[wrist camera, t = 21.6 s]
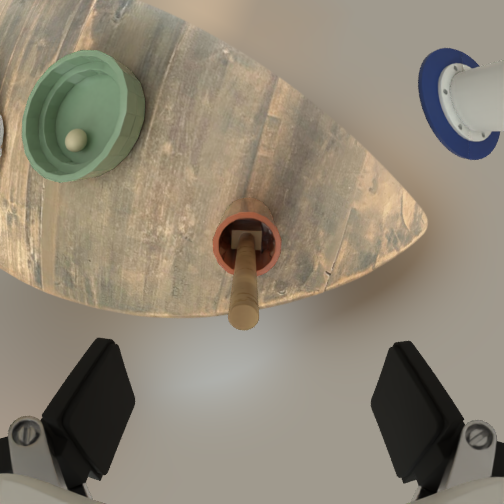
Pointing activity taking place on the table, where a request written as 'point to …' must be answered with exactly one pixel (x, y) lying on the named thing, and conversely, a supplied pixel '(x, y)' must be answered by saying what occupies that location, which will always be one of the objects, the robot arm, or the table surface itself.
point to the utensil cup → (270, 235)
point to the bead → (76, 140)
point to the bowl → (82, 116)
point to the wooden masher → (245, 274)
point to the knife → (1, 133)
